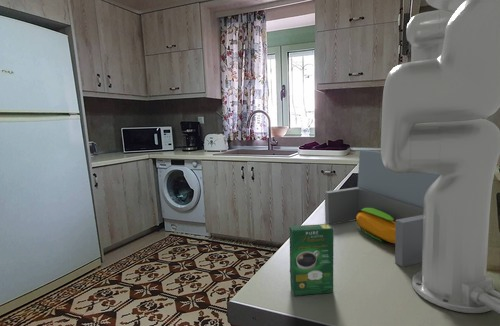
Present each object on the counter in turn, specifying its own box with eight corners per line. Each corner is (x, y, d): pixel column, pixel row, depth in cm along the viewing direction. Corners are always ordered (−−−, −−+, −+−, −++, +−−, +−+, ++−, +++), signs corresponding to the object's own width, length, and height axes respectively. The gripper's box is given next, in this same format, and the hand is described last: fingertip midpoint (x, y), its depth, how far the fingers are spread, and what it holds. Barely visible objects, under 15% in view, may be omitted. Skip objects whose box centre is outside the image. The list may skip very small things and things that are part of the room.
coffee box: (330, 285, 58) (328, 221, 57) (335, 293, 56) (334, 227, 54) (290, 288, 58) (287, 225, 56) (293, 297, 55) (290, 230, 53)
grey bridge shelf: (444, 256, 67) (446, 214, 65) (402, 267, 63) (402, 222, 62) (357, 216, 96) (357, 187, 95) (325, 222, 93) (324, 191, 91)
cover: (446, 214, 65) (449, 214, 66) (451, 160, 64) (455, 160, 64) (357, 187, 95) (360, 186, 95) (359, 150, 93) (362, 149, 94)
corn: (370, 200, 88) (425, 221, 68) (372, 224, 89) (426, 251, 69) (348, 205, 86) (398, 228, 67) (350, 229, 87) (399, 259, 68)
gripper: (436, 72, 82) (434, 138, 85) (393, 74, 78) (392, 142, 81) (462, 68, 75) (459, 139, 78) (416, 69, 71) (414, 144, 74)
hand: (425, 141), depth 79 cm, fingers closed
